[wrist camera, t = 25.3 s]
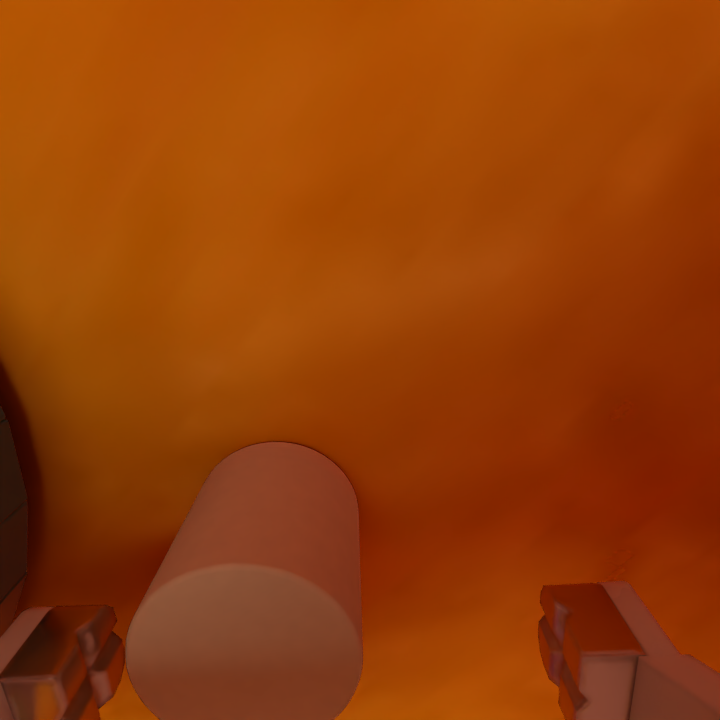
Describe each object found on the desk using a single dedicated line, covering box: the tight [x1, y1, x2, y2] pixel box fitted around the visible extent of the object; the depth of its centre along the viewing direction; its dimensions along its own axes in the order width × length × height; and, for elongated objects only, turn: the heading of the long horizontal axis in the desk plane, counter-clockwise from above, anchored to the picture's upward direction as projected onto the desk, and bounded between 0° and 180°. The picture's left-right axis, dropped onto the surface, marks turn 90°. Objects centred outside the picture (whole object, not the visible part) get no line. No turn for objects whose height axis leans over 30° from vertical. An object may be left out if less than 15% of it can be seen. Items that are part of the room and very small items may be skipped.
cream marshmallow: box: [125, 442, 363, 720], centre depth 10 cm, size 4×4×4 cm
